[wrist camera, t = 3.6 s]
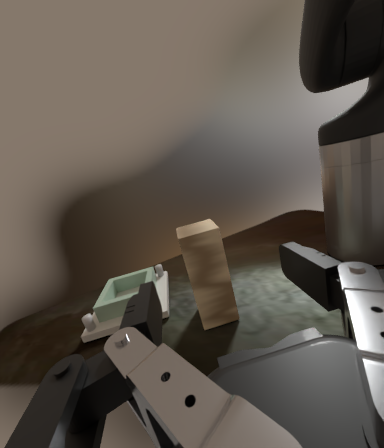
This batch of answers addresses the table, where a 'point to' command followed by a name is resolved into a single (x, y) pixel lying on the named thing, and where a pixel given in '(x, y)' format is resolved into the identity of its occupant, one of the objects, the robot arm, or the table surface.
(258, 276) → the table surface
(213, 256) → the maple block
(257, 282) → the table surface
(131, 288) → the socket plate
